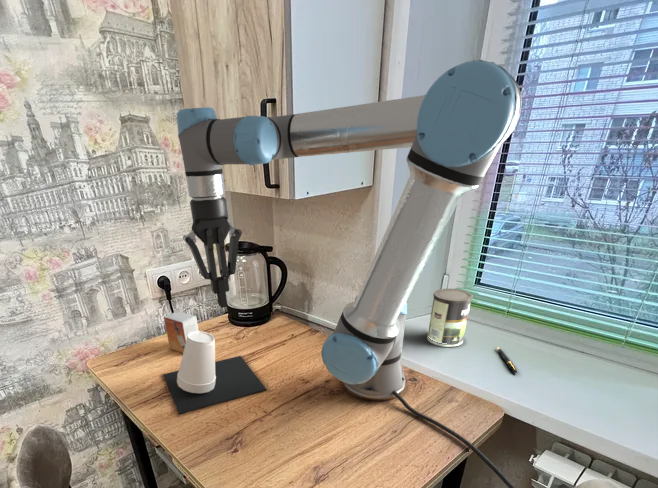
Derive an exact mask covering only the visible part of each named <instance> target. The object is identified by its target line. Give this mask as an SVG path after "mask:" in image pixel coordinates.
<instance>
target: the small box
mask: <svg viewBox="0 0 658 488" xmlns="http://www.w3.org/2000/svg"><path fill="white" fill-rule="evenodd" d="M163 320H164V326H165V331H166V335H167V336H166V337H167V340H168V346H169V350H172V351H176V352H178V353H182V354H183V352H184V348H185V344H186V340H187V336H188V334H189V333H190V332H194V331H199V325H198V319H197V316H196V315H193V314H190V313H189V314H188V313H185V312H182V311H179V310H177V311H173V312H172V313H170V314H167V315H165V316H163Z"/></svg>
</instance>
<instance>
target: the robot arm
mask: <svg viewBox="0 0 658 488" xmlns="http://www.w3.org/2000/svg"><path fill="white" fill-rule="evenodd" d="M522 103H523V102H522V93H521V90H520V86H519V84H518V82H517V80H516V79H515V78H514V77H513V76H512V75H511V74H510V73H509V72H508V70H507V69H506V68H504V66H502V65H499V64H497V63H495V62H494V61H487V60H484V59H477V60H475V59H474V60H470V61H465V62H462V63H459V64H457V65H454V66H453V67H451V68H449V69H447V70H446V71H444V73H442V74H441V75H440V76H439V77H437V79H436V80H434V82H433V83H432V85H430V87H429V89H428V90H427V92H426V93H425V94H422V95H415V96H409V97H403V98H402V97H401V98H395V99H388V100H381V101H375V102H368V103H362V104H355V105H354V104H353V105H347V106H342V107H334V108H328V109H320V110H315V111H314V110H313V111H307V112H300V113H299V112H298V113H293V114H285V115H279V116H263V115H245V116H241V117H229V118H222V119H221V118H217V114H216V110H215V109H214V108H213V107H190V108H189V107H188V108H182V109H179V110H178V111H177V114H176V123H177V125H176V126H177V133H178V134H177V138H178V141H179V146H180V150H181V156H182V162H183V167H184V168H183V169H184V175H185V179H186V186H187V192H188V194H187V195H188V197H189V198H191V199H190V201H189V206H190V213H191V218H192V225H191V230H190V231H189V233H188V234H184V235H183V236H182V240H183V241H184V242H185V243H186V245H187V246H188V247H189V249H190V252H191V254H192V256H193V259H194V262H195V263H196V266H197V268H198V270H199V273H200V276H202V278H203V279H204V280H209V281H210V287H211V291H212V293H213V294H214V295H216V298H217V299H216V300H217V305H218V306H219V307H220V308H221V309H223V308H228V300H227V299H228V297H227V292H230V283H229V279H230V277H231V275H235V274H236V268H237V260H238V259H237V258H238V250H239V242H240V239H241V237H242V235H243V231H242V230H241V229H240V228H237V227H234V226H233V225H232V222H231V220H230V219H229V213H228V204H227V198H226V197H225V195H226V187H225V181H224V179H225V178H224V172H223V171H224V170H223V166H224V165H249V166H255V165H257V166H258V165H262V164H268V163H270V162H271V161H275V160H283V159H290V158H291V159H294V158H302V157H312V156H313V157H314V156H325V155H337V154H347V153H359V152H371V151H382V150H395V149H405V148H406V149H407V148H410V149H409V151H408V154H407V156H406V163H407V166H408V169H409V176H408V179H407V181H406V184H405V185H404V189H403V191H402V193H401V195H400V197H399V199H398V202H397V204H396V207H395V209H394V211H393V214H392V216H391V218H390V221H389V223H388V224H387V225H388V226H387V227H386V230H385V233H384V235H383V236H382V238H381V242H380V244H379V246H378V248H377V251H376V253H375V255H374V257H373V260H372V262H371V264H370V267H369V269H368V272H367V274H366V275H365V278H364V281H363V283H362V285H361V288H360V290H359V292H358V294H357V295H356V297H355V298H354V301H352V302H349V303H347V304H346V305H345V306H344V308H343V310H342V311H341V312H342V313H341V315H340V317H339V319H338V322H337V324H336V326H335V329H334V330H333V332H332V333H331V334H330V335H328V336H327V338H326V339H325V341H324V342H323V344H322V347H321V359H322V363H323V364H324V366H325V368H326V370H327V371H328V372H329V373H330V374H331V375H332V376H333V377H334V378H335V379H337V380H338V381H340V382H342V385H343V387H344V389H345V390H346V392H348V393H349V394H350V395H352V396H354V397H357V398H359V399H362V400H367V401H378V402H380V401H388V400H389V401H390V400H392V399H395V398H396V399H397V400H398V401H399V402H400V403H401V404H402V405H403V406H404V407H405V409H407V410H408V411H409V412H410V413H412V414H413V415H415V416H416V417H419V418H421V419H422V420H424V421H427V422H428V423H431V424H432V425H434V426H436V427H438V428H439V429H440V430H443V431H445V432H447V433H448V434H449V435H451V436H452V437H454V438H455V439H457V440H458V441H460V442H462V444H464V445H465V446H467V447H468V448H469V449H470V450H471V451H472V452H474V454H476V455H477V456H478V457H479V459H481V461H483V462H484V463H485V464H486V465H487V466H488V467H489V468H490V469H491V470H492V471H493V473H495V474H496V475H497V477H499V479H500V480H501V481H502V482H503V483H504V484H505V485H506V487H507V488H516V486H515V485H514V484H513V483H512V482H511V481H510V480H509V479H508V478H507V476H506V475H505V474H503V472H502V471H501V470H500V469H499V468H498V467H497V466H496V465H495V464H494V463H493V462H492V461H491V460H490V459H489V458H488V457H487V456H486V455H485V454H484V453H482V451H480V450H479V449H478V448H477V447H476V446H475V445H474V444H472V443H471V442H470V441H469V440H467V439H466V438H464V437H463V436H462V435H460V434H459V433H458V432H456V431H454V430H452V429H451V428H449V427H448V426H445V424H442V423H441V422H439V421H437V420H435V419H433V418H432V417H429V416H427V415H424V414H423V413H421V412H419V411H417V410H415V409H414V408H413V407H411V405H409V403H408V402H407V400H405V399H404V398H403V397H402V396H401V395H402V394H403V392H404V391H405V388H406V376H405V371H404V368H403V363H402V351H403V344H404V336H405V327H406V320H407V315H408V303H407V300H408V299H409V297H410V295H411V293H412V291H413V289H414V287H415V286H416V284H417V282H418V280H419V279H420V276H421V274H422V273H423V270H424V268H425V266H426V265H427V263H428V261H429V259H430V257H431V255H432V253H433V251H434V249H435V247H436V246H437V243H438V242H439V240H440V238H441V237H442V235H443V232H444V231H445V228H446V227H447V225H448V223H449V221H450V219H451V217H452V215H453V213H454V211H455V210H456V208H457V206H458V204H459V202H460V200H461V199H462V196H463V195H465V194H466V193H468V192H470V191H473V190H475V189H478V187H479V186H480V184H481V182H482V180H483V179H484V177H485V174H486V173H487V171H488V170H489V167H490V166H491V165H492V162H493V160H494V159H495V156H496V155H497V153H498V152H499V150H500V148H501V146H502V145H503V144H504V143H505V142H506V141H507V139H508V138H510V135H511V134H512V133H513V131H515V128H516V126H517V123H518V121H519V119H520V117H521V111H522ZM228 235H229V245H228V256H226V243H225V241H226V238H227V237H228ZM196 237H197V238H198V239H199V240H200V242H202V243H203V248H204V251H205V258H206V264H207V267H206V264H205V262H204V260H203V257H202V255H201V253H200V250H199V247H198V245H197V244H196V243H197V239H196ZM214 246H215V247H214ZM214 249H216V255H217V262H218V270H219V275H220V276H218V272H217V265H216V257H215V252H214Z"/></svg>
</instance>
